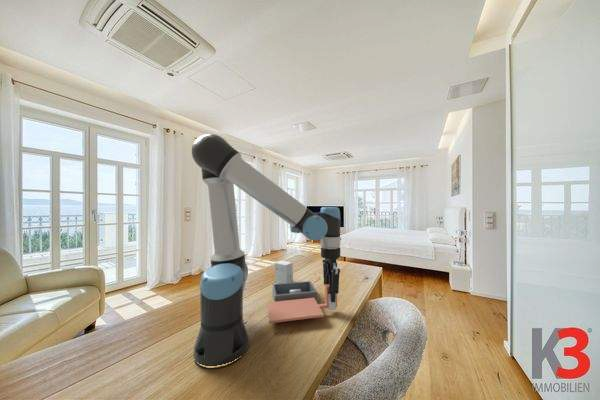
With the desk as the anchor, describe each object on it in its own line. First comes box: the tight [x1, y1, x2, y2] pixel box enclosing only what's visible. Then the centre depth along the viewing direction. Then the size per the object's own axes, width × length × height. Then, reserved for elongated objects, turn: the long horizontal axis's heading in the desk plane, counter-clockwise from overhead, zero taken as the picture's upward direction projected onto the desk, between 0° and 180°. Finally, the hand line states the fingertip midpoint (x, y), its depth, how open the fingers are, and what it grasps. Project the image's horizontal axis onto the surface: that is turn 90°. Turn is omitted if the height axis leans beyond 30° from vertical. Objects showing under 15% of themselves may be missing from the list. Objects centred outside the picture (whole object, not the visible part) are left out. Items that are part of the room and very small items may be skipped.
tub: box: [272, 280, 318, 303], centre depth 92 cm, size 18×12×5 cm, turn 102°
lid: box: [267, 284, 338, 324], centre depth 79 cm, size 26×13×8 cm, turn 102°
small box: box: [274, 260, 294, 284], centre depth 112 cm, size 8×6×10 cm
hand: (330, 307), depth 81 cm, fingers closed on lid, 2 cm apart
